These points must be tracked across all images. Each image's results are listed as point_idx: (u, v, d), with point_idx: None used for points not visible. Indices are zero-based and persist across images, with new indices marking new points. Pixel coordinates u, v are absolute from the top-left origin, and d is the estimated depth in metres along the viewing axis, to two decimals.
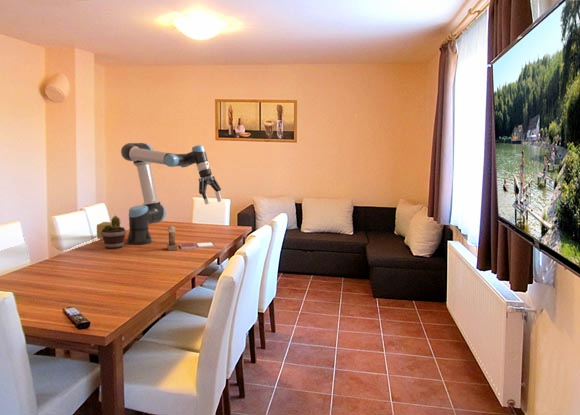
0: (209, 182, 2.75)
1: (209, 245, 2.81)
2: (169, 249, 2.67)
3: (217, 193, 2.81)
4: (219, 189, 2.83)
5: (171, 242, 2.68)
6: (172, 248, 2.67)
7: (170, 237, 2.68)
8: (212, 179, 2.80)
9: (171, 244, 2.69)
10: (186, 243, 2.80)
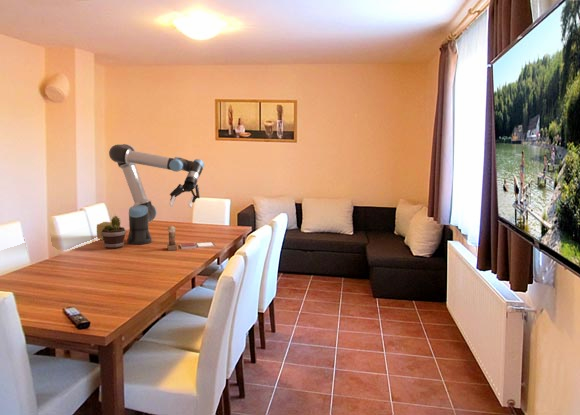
0: None
1: (209, 245, 2.81)
2: (169, 249, 2.67)
3: (174, 198, 2.82)
4: None
5: (171, 242, 2.68)
6: (172, 248, 2.67)
7: (170, 237, 2.68)
8: (181, 187, 2.87)
9: (171, 244, 2.69)
10: (186, 243, 2.80)
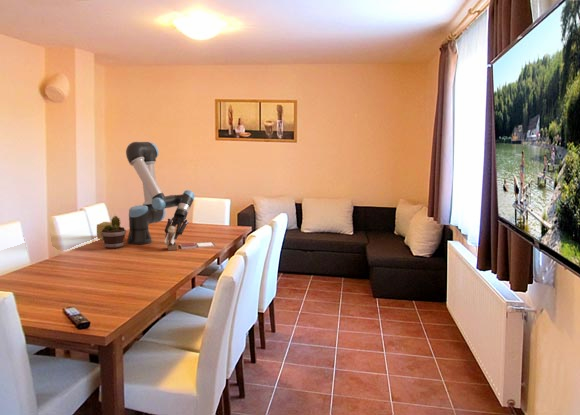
0: None
1: (209, 245, 2.81)
2: (169, 249, 2.67)
3: None
4: None
5: None
6: (172, 248, 2.67)
7: (170, 237, 2.68)
8: (171, 221, 2.77)
9: (171, 244, 2.69)
10: (186, 243, 2.80)
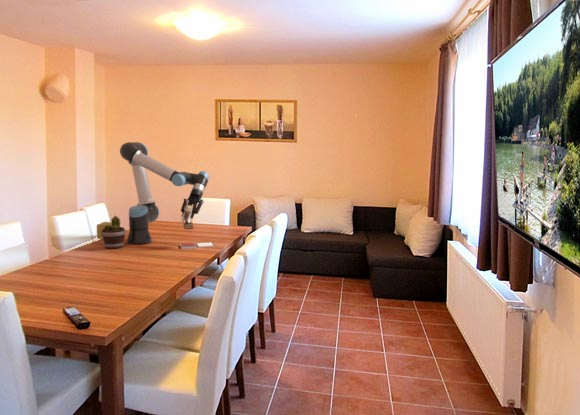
0: None
1: (209, 245, 2.81)
2: (185, 228, 2.72)
3: None
4: None
5: None
6: (188, 227, 2.73)
7: (186, 216, 2.73)
8: (187, 201, 2.82)
9: (187, 223, 2.74)
10: (186, 243, 2.80)
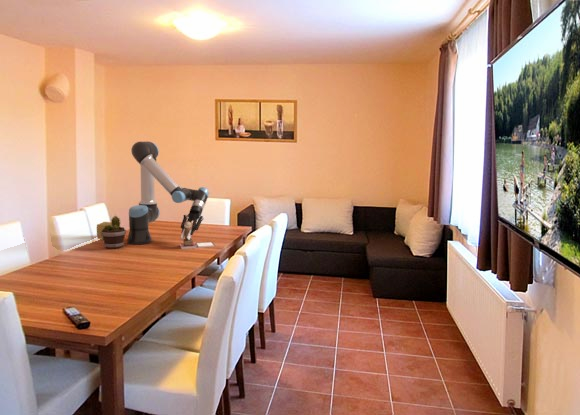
0: None
1: (209, 245, 2.81)
2: (185, 244, 2.74)
3: None
4: None
5: None
6: (188, 243, 2.74)
7: (186, 232, 2.75)
8: (187, 217, 2.84)
9: (187, 239, 2.75)
10: None
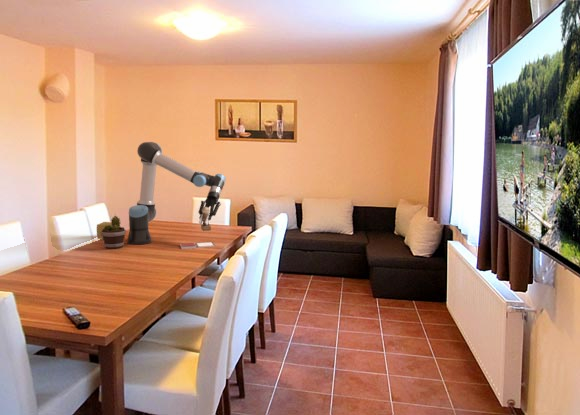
0: None
1: (209, 245, 2.81)
2: (203, 229, 2.78)
3: None
4: None
5: None
6: (206, 228, 2.78)
7: (204, 218, 2.79)
8: (204, 203, 2.88)
9: (205, 224, 2.80)
10: (186, 243, 2.80)
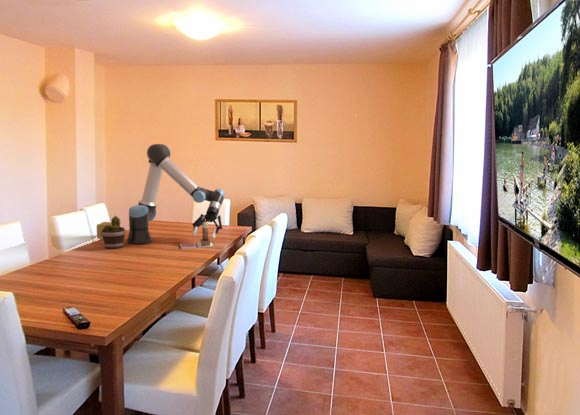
0: None
1: (209, 245, 2.81)
2: (203, 244, 2.79)
3: (197, 229, 2.85)
4: None
5: (205, 237, 2.81)
6: (205, 243, 2.80)
7: (204, 233, 2.80)
8: (203, 217, 2.90)
9: (205, 239, 2.81)
10: (186, 243, 2.80)
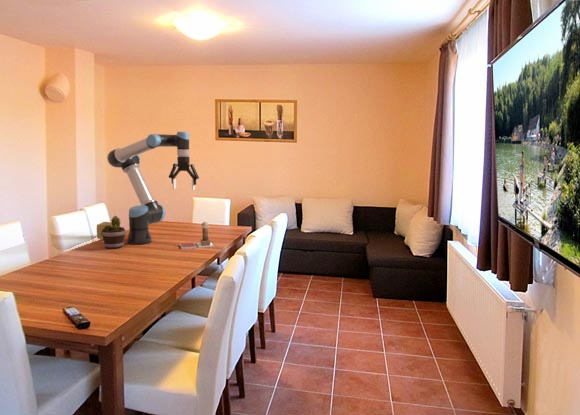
0: None
1: (209, 245, 2.81)
2: (203, 244, 2.79)
3: (175, 180, 2.86)
4: None
5: (205, 237, 2.81)
6: (205, 243, 2.80)
7: (204, 233, 2.80)
8: (176, 166, 2.84)
9: (205, 239, 2.81)
10: (186, 243, 2.80)
